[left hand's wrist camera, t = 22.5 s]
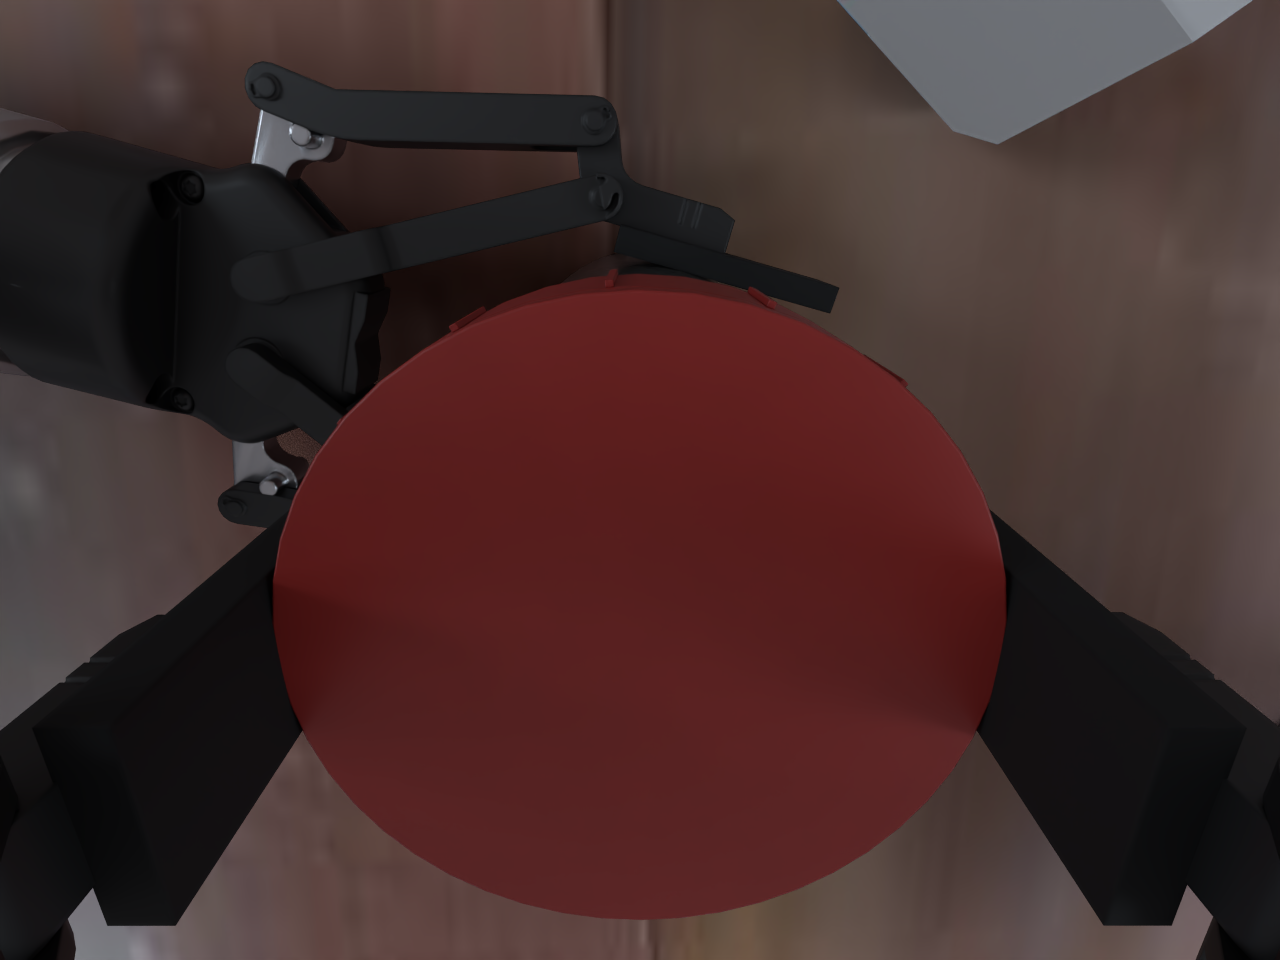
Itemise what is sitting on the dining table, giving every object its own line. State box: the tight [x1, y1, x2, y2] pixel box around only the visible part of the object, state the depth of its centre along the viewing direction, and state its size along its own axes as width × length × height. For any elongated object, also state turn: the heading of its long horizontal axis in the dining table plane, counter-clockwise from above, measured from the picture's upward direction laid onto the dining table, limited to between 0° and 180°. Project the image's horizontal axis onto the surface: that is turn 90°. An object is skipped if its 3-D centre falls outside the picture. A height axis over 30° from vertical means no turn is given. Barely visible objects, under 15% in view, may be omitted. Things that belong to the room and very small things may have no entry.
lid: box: [273, 269, 1007, 920], centre depth 11 cm, size 10×10×2 cm
